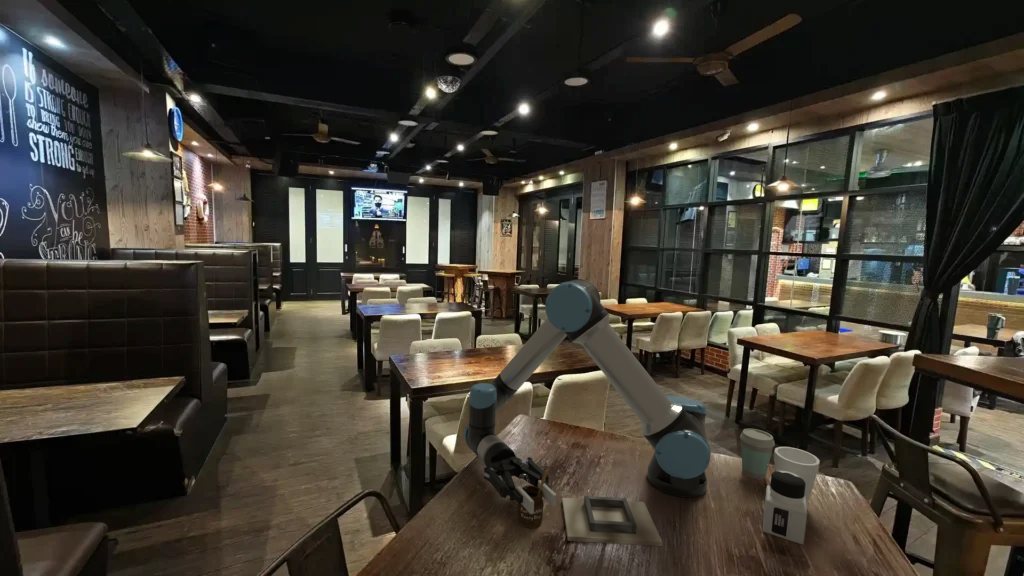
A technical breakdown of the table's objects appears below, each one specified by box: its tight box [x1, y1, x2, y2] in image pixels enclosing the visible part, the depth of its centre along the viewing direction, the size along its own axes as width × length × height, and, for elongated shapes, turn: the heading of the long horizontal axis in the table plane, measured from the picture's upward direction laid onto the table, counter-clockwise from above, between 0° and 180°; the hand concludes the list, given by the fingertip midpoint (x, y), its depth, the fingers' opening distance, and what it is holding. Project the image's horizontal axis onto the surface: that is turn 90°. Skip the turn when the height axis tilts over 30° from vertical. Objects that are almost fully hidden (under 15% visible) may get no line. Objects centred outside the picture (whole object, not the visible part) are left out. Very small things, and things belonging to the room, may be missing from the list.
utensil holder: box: [516, 468, 548, 529], centre depth 97 cm, size 6×6×12 cm
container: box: [762, 470, 808, 545], centre depth 97 cm, size 8×8×13 cm
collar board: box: [561, 495, 663, 547], centre depth 98 cm, size 20×14×3 cm
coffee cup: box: [739, 428, 776, 481], centre depth 121 cm, size 9×9×12 cm
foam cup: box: [773, 446, 821, 507], centre depth 107 cm, size 10×9×13 cm
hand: (543, 504), depth 92 cm, fingers closed on utensil holder, 5 cm apart
